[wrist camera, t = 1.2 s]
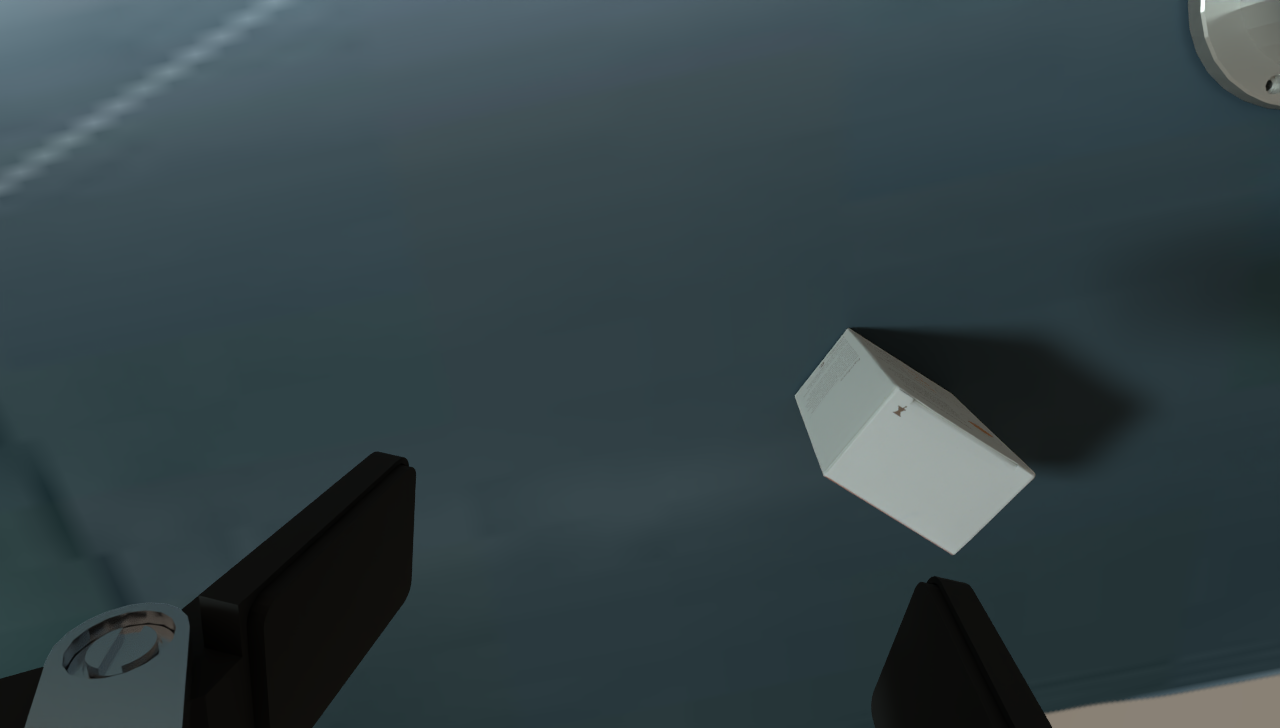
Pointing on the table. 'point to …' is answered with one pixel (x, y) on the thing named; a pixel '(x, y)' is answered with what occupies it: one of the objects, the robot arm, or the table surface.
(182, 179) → the table surface
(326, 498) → the robot arm
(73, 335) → the table surface
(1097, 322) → the table surface
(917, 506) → the small box
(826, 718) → the table surface
